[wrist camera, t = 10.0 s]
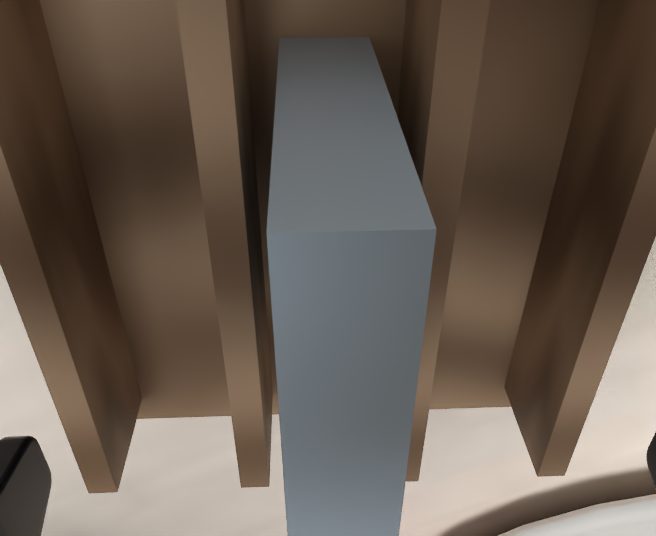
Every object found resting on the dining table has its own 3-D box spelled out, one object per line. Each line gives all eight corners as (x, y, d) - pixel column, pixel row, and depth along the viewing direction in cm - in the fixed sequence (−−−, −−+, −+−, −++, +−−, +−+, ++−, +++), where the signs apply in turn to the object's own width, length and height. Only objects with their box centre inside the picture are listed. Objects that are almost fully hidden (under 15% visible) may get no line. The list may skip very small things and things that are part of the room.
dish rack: (531, 384, 22) (578, 494, 18) (111, 397, 22) (74, 514, 18) (722, -283, 11) (921, -331, 8) (-96, -292, 11) (-292, -348, 7)
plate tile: (359, 284, 18) (397, 548, 11) (290, 286, 18) (288, 552, 11) (369, 36, 14) (436, 228, 7) (279, 38, 14) (266, 233, 7)
